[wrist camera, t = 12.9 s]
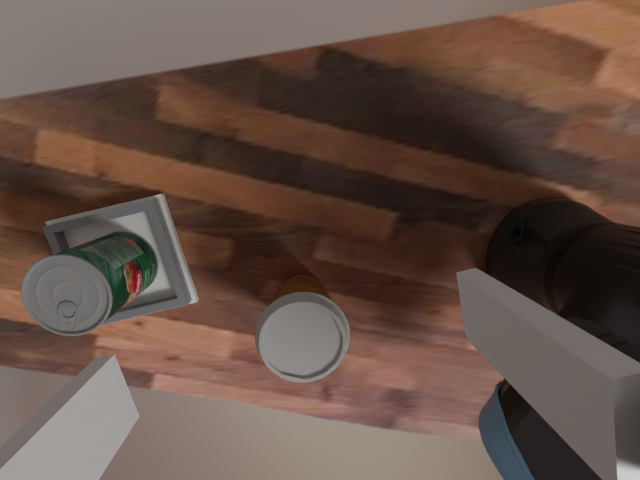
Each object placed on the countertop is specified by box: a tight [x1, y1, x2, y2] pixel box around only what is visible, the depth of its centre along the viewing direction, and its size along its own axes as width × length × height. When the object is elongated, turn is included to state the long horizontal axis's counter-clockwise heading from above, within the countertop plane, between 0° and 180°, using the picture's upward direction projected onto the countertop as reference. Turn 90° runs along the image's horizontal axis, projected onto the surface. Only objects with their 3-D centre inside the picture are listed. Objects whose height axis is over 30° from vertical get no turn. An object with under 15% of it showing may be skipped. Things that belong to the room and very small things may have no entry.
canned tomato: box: [21, 231, 159, 336], centre depth 37 cm, size 8×8×11 cm
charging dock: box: [42, 193, 199, 325], centre depth 42 cm, size 14×14×2 cm
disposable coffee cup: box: [255, 275, 350, 383], centre depth 39 cm, size 10×10×12 cm
